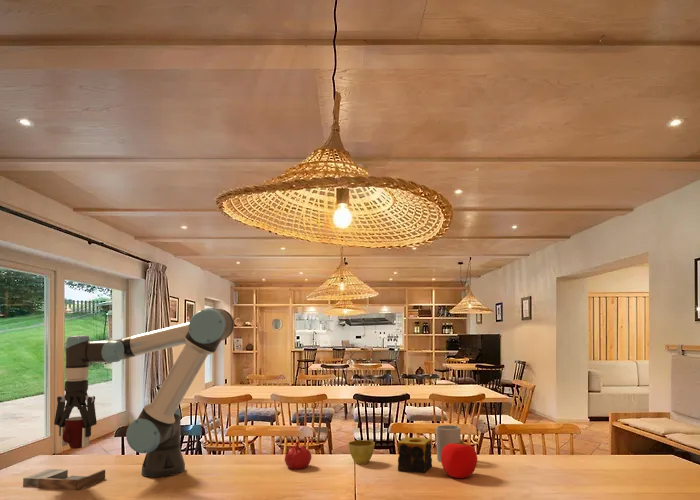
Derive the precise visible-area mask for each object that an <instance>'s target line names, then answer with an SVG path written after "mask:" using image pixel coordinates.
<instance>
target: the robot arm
mask: <svg viewBox="0 0 700 500" xmlns="http://www.w3.org/2000/svg"><path fill="white" fill-rule="evenodd" d="M234 328H235V320H234V317H233V315H232V314H231V313H230V312H229V311H227V310H225V309H222V308H212V307H211V308H210V307H208V308H203V309H201V310H198V311H197V312H195V313H194V314H193V315H192V316H191V319H190V320H189V321H188V322H185V323H180V324H177V325H172V326H169V327H165V328H160V329H156V330H152V331H148V332H144V333H141V334H136V335H132V336H128V337H127V336H126V337H124V338H120V339H110V340H91V339H90V336H89V335H86V334H85V335H70V336H68V337H67V338H66V344H65V369H64V370H65V371H64V379H65V381H64V391H65V393H64V395H59V396H57V397H56V400H57V403H56V410H55V416H54V422H53V423H54V425H55V426H58V428H59V429H58V436H59V437H60V446H59V447H61V448H62V447H65V446H69V444H68V443H66V442H64V441H63V432H64V430H65V419H69V418H70V416H71V413H72V411H73V409H74V408H77V410H78V411H79V413H80V414H79V415H80V417H82V420H83V423H84V426H85V427H83V428H82V448H86V447H89V446H90V437H91V435H92V427H94V426H97V424H98V422H97V414H96V406H95V403H96V402H95V401H96V396H95V395H91V396H90V395H88V389H89V380H88V379H89V365H90V363H110V364H111V363H119V362H120V361H122V360H127V359H130V358H133V357H137V356H141V355H146V354H149V353H153V352H158V351H161V350H167V349H169V348H174V347H178V346H183V345H184V346H183V347H182V349H181V352H180V353H179V355H178V356H177V358H176V360H175V362H174V364H173V365H172V367H171V368H170V370H169V372H168V374H167V376H166V378H165V379H164V381H163V382H162V384H161V386H160V388H159V389H158V391H157V393H156V394H155V396H154V398H153V399H152V401H151V403H148V404H146V405H144V407H143V408H142V410H141V412H140V414H139V415H138V417H137V419H135V420H133V421H132V422H131V423H130V424H129V425H128V427H127V429H126V433H125V436H126V437H125V438H126V441H127V444H128V446H129V447H130V448H131V449H132V450H133V451H134V452H137V453H139V454H145V456H144V460H143V463H142V466H141V475H142V476H144V477H149V478H160V477H161V478H162V477H163V478H164V477H171V476H175V475H179V474H181V473H183V472H184V471H185V470H186V463H185V459H184V456H183V454H182V451H181V424H182V423H181V422H182V421H181V420H182V416H181V409H180V408H179V406H180V404H181V402H182V401H183V399H184V398H185V396H186V394H187V392H188V391H189V389H190V387H191V386H192V384H193V382H194V380H195V378H196V377H197V376H198V374H199V372H200V370H201V368H202V367H203V364H204V363H205V361H206V359H207V357H208V356H210V355H211V354H214V353H216V350H218V347H219V346H220V344H221V342H222V341H224V340H226V339H227V338H229V337H230V336H231V335H232V333H233V332H234Z"/></svg>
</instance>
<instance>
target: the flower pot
mask: <svg viewBox="0 0 700 500" xmlns="http://www.w3.org/2000/svg"><path fill="white" fill-rule="evenodd" d="M375 443H376V442H375V441H373V440H365V439H363V440H361V439H360V440H352V441H350V442H349V441H348V443H347V445H348V449H349V453H350V456H351V458H352V460H353V462H354V463H355V464H358V465H365V464H368V463H369V462H370V460H371V459H372V457H373V453H374V450H375V446H376V444H375Z"/></svg>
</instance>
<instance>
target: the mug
mask: <svg viewBox="0 0 700 500" xmlns="http://www.w3.org/2000/svg"><path fill="white" fill-rule="evenodd" d="M83 427H85V426H84V423H83V420H82V417H81V416H71V417H69V419H65V430H64V432H63V441H64V442H66V443H68V446H69V447H70V449H73V450H76V449H82V448H83V447H82V428H83Z"/></svg>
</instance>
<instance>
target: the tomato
mask: <svg viewBox="0 0 700 500" xmlns="http://www.w3.org/2000/svg"><path fill="white" fill-rule="evenodd" d="M477 463H478V454H477V451H476V449H475V448H474V447H473V446H472V445H471V444H470V443H466V442H463V441H462V440H461V441H460V443H450V444H447V445H446V446H444V448H443V450H442V454H441V466H442V468H443V470H444V472H445V473H446V474H447V475H448V476H449V477H452V478H456V479H464V478H467V477H470V476H471V475H472V474H473V473H474V472H475V470H476V468H477V465H478V464H477Z"/></svg>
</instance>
